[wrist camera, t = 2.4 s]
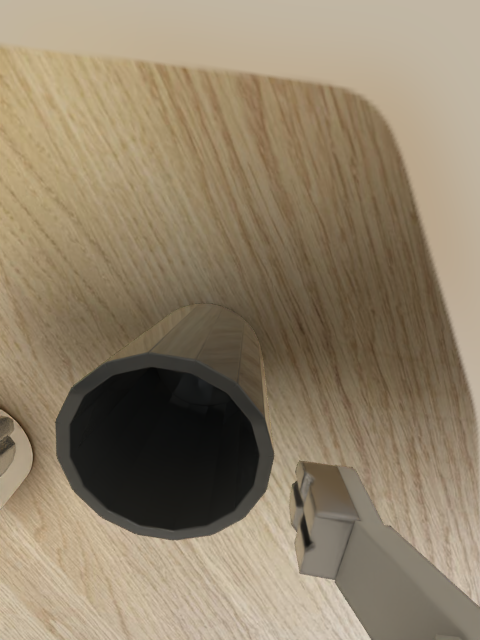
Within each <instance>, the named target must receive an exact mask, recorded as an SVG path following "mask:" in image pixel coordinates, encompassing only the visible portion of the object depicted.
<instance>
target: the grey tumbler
mask: <svg viewBox="0 0 480 640" xmlns="http://www.w3.org/2000/svg"><path fill="white" fill-rule="evenodd" d="M55 423H56V454H57V459H58V461H59V463H60V465H61V467H62V469H63V471H64V474H65V476H66V478H67V480H68V482H69V484H70V486H71V488H72V490H74V492H75V493H76V494H77V495H78V496H79V497H80V498H81V499H82V500H83V501H84V502H85V503H86V504H87V505H88V506H89V507H91V508H92V509H93V510H94V511H95V512H96V513H97V514H98V515H99V516H100V517H102V518H103V519H105V520H107V521H109V522H111V523H113V524H116V525H118V526H120V527H122V528H124V529H126V530H128V531H130V532H132V533H134V534H137V535H142V536H149V537H155V538H161V539H167V540H183V539H190V538H196V537H203V536H210V535H212V534H215V533H217V532H219V531H221V530H223V529H225V528H227V527H229V526H230V525H232V524H234V523H236V522H238V521H240V520H242V519H243V518H244V517H246V515H247V514H248V513H249V512H250V510H251V509H252V508H253V507H254V506H255V504H256V503H257V502H258V501H259V499H260V498H261V497H262V496H263V494H264V493H265V492H266V490H267V487H268V482H269V478H270V473H271V469H272V464H273V460H274V447H273V439H272V430H271V422H270V413H269V405H268V396H267V388H266V379H265V371H264V362H263V356H262V352H261V347H260V343H259V340H258V337H257V336H256V334H255V332H254V330H253V329H252V327H251V326H250V325H249V324H248V323H247V321H246V320H244V319H243V318H242V317H241V316H240V315H238V314H237V313H235V312H234V311H232V310H230V309H228V308H225V307H223V306H220V305H215V304H208V303H198V304H192V305H188V306H184V307H182V308H179V309H176V310H175V311H173V312H172V313H171V314H169V315H168V316H166V317H165V318H164V319H162V320H161V321H160V322H158V323H157V324H155V325H154V326H153V327H151V328H150V329H149V330H147V331H146V332H145V333H143V334H142V335H140V336H139V337H138V338H136V339H135V340H134V341H132V342H131V343H129V344H128V345H127V346H125V347H124V348H123V349H121V350H120V351H119V352H117V353H116V354H114V355H113V356H112V357H110V358H109V359H108V360H106V361H105V362H104V363H102V364H101V365H100V366H98V367H97V368H96V369H94V370H93V371H92V372H90V373H89V374H88V375H86V376H85V377H84V378H82V379H81V380H80V381H78V382H77V383H76V384H74V385H73V387H72V388H71V389H70V392H69V394H68V396H67V398H66V400H65V402H64V404H63V406H62V408H61V410H60V412H59V414H58V417H57V419H56V422H55Z"/></svg>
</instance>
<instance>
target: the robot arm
mask: <svg viewBox="0 0 480 640" xmlns="http://www.w3.org/2000/svg"><path fill="white" fill-rule="evenodd" d="M13 431H14V423H13V419H11V418H9V417H6V416H0V477H1V476H2V475H3V474H4V473H5V472H6V471H7V469H8V468H9V466H10V465H11V463H12V462H13V460H14V456H15V452H16V445H15V442H14V441H13V440H12V438H11V437H10V435H11V434H12V432H13ZM295 473H296V477H297V481H296V482H295V483H294V484H292V488H291V493H290V503H289V508H290V519H291V525H292V526H293V528H294V529H295V530H296V532H297V535H296V539H295V543H294V544H295V549H296V555H297V561H298V567H299V573H300V574H304V575H310V576H315V577H321V578H326V579H332V580H335V583H336V585H337V586H338V588H339V590H340V591H341V593H342V594H343V596H344V597H345V599H346V600H347V602H348V604H349V605H350V607H351V608H352V610H353V611H354V613H355V615H356V616H357V618H358V619H359V621H360V622H361V624H362V625H363V627H364V629H365V630H366V632H367V633H368V635H369V636H370V638H371V639H372V640H480V607H479V606H478V605H477V604H475V603H474V602H473V601H472V600H471V599H470V598H469V597H468V596H467V595H466V594H464V593H463V592H462V591H461V590H460V589H459V588H458V587H457V586H456V585H455V584H454V583H452V582H451V581H450V580H449V579H448V578H447V577H446V576H445V575H444V574H443V573H441V572H440V571H439V570H438V569H437V568H436V567H435V566H434V565H433V564H432V563H430V562H429V561H428V560H427V559H426V558H425V557H424V556H423V555H422V554H421V553H419V552H418V551H417V550H416V549H415V548H414V547H413V546H412V545H411V544H410V543H409V542H407V541H406V540H405V539H404V538H403V537H402V536H401V535H400V534H399V533H398V532H396V531H395V530H394V529H393V528H392V527H391V526H388V525H384V524H383V522H382V520H381V518H380V516H379V514H378V512H377V510H376V508H375V506H374V504H373V502H372V500H371V499H370V497H369V495H368V493H367V491H366V489H365V487H364V485H363V483H362V481H361V479H360V477H359V475H358V473H357V472H356V470H355V469H354V468H353V467H346V466H338V465H328V464H321V463H314V462H307V461H300V460H299V462H298V464H297V467H296V471H295Z"/></svg>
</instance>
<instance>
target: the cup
mask: <svg viewBox="0 0 480 640" xmlns="http://www.w3.org/2000/svg"><path fill="white" fill-rule="evenodd" d="M0 416H6V417H9V418H11V419H13V418H12V417H11V416H9V415H8V414H7V413H5V412H4V411H3V410H1V409H0ZM13 423H14V431H13V432H12V434H11V435H10V437H11V438H12V440H13V441H14V442H15V445H16V452H15V456H14V460H13V462H12V463H11V465H10V466H9V468H8V469H7V471H6V472H5V473H4V474H3V475H2V476H1V477H0V510H1V508H2V507H3V506H4V505H5V503H6V502H7V501H8V500H9V498H10V497H11V496H12V495H13V493H14V492H15V491H16V490H17V488H18V487H19V486H20V485H21V483H22V482H23V481H24V479H25V478H26V477H27V475H28V474H29V472H30V470H31V467H32V461H33V455H32V448H31V445H30V442H29V440H28V438H27V436H26V434H25V432H24V431H23V429H22V428H21V427H20V425H19V424H18V423H17V422H16V421H15V420H14V419H13Z"/></svg>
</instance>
